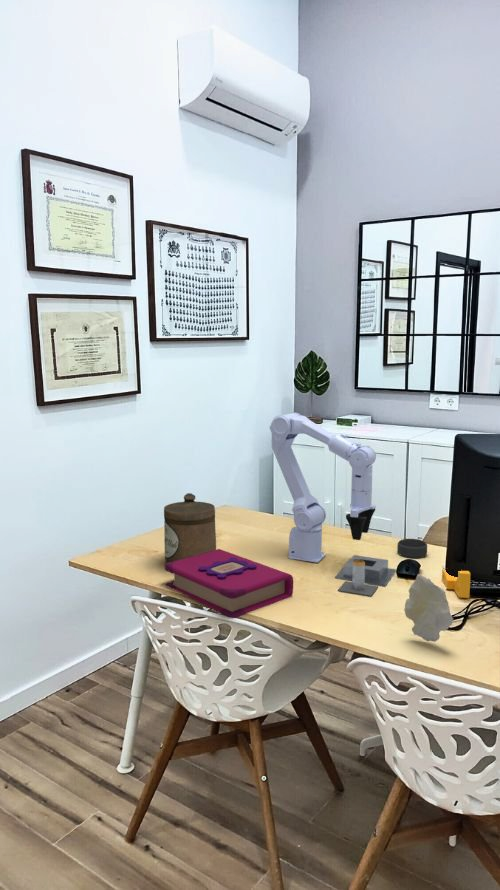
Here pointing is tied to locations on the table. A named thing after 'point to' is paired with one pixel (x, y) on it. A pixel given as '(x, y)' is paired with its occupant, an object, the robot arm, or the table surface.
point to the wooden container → (188, 529)
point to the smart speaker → (412, 548)
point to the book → (229, 582)
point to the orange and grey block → (358, 574)
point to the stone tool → (427, 609)
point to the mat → (367, 591)
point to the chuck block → (369, 571)
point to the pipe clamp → (458, 583)
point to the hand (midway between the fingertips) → (360, 535)
